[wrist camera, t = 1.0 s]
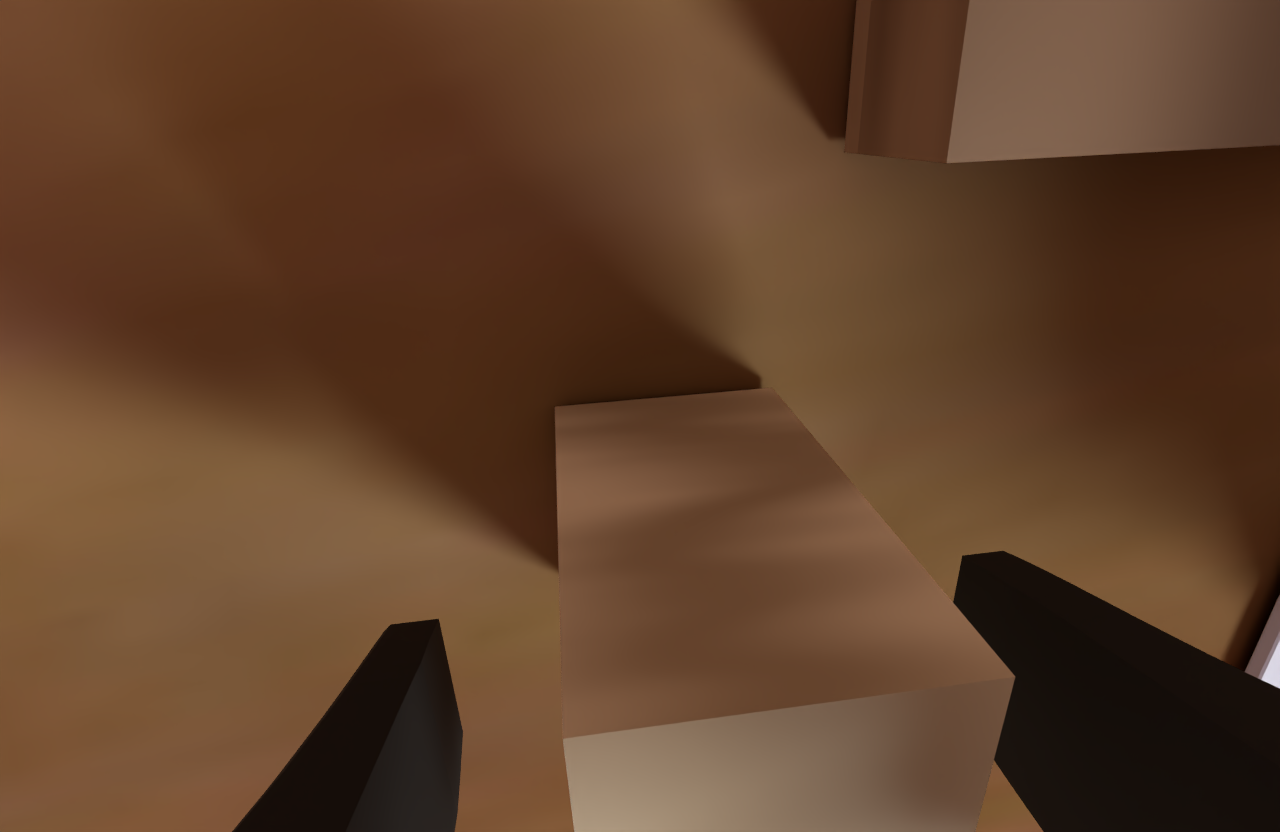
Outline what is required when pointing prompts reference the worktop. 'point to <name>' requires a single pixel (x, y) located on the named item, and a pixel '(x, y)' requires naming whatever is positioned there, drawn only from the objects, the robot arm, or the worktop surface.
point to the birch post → (754, 635)
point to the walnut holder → (1061, 77)
